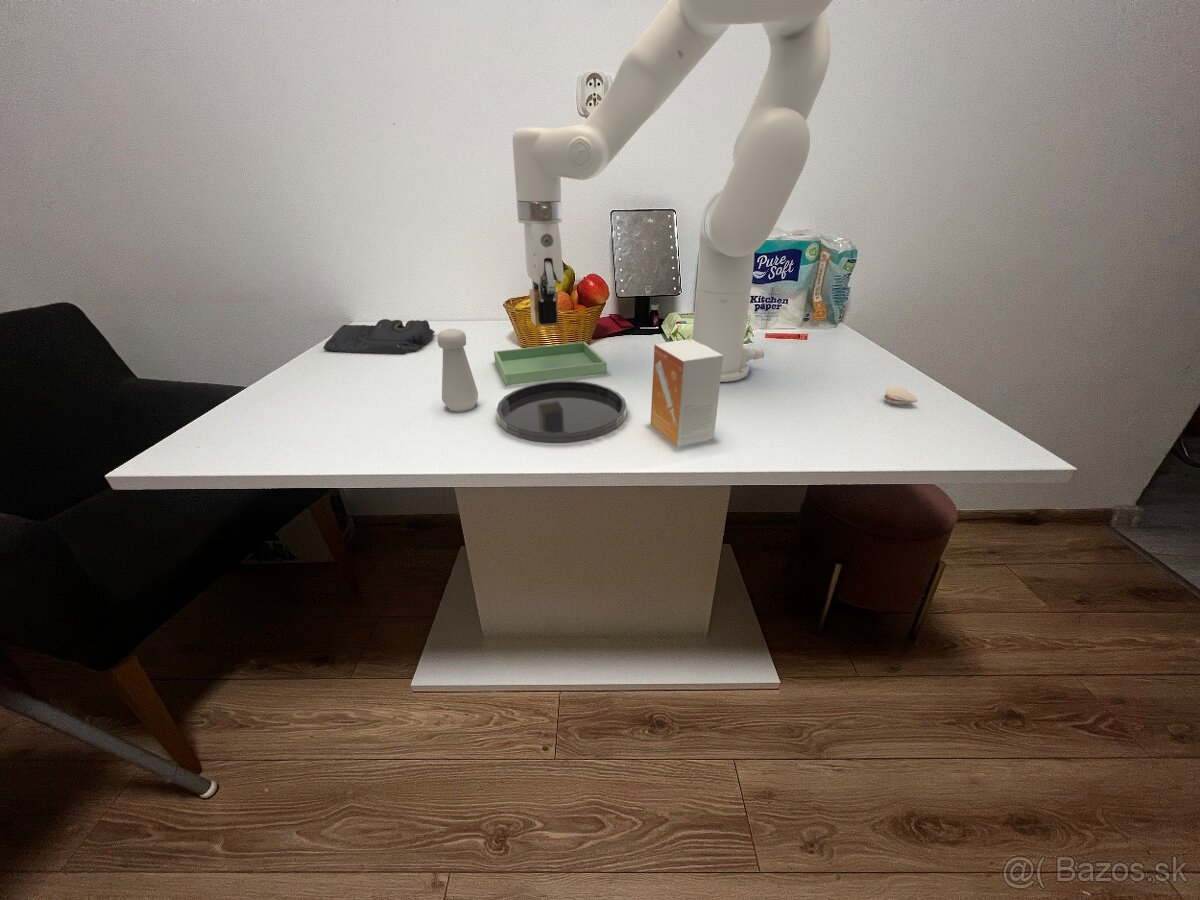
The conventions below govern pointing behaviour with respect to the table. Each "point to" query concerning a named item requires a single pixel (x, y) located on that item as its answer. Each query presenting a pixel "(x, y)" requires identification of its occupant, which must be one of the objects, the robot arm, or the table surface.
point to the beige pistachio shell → (899, 396)
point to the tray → (548, 363)
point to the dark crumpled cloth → (381, 337)
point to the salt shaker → (456, 372)
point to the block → (534, 308)
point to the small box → (685, 391)
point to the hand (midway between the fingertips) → (545, 318)
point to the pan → (561, 411)
